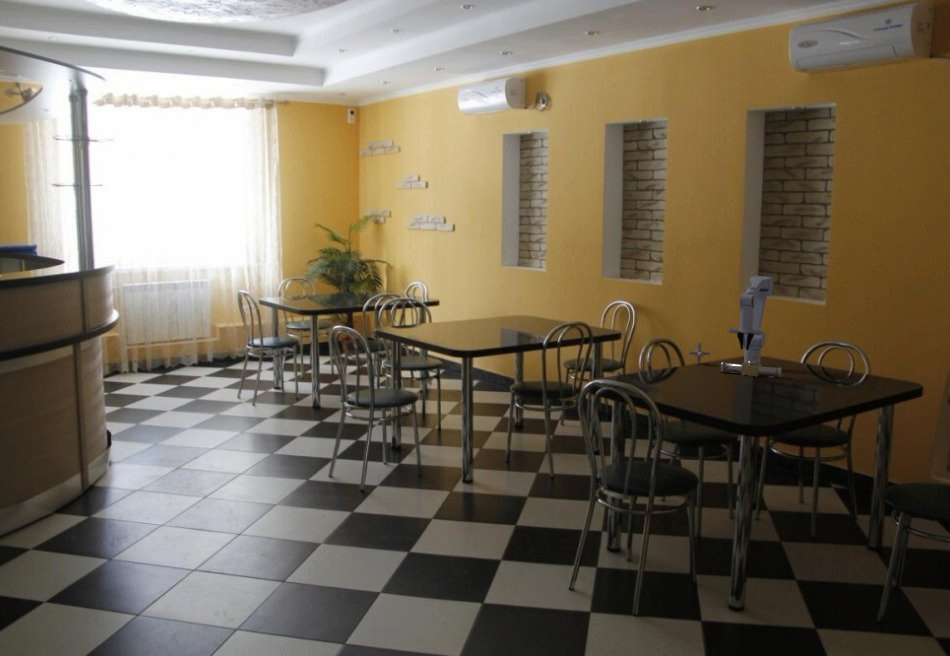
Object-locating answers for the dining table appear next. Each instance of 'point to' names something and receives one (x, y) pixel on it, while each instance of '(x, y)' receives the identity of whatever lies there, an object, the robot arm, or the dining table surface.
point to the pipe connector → (699, 353)
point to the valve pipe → (751, 369)
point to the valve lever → (753, 360)
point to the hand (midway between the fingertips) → (744, 349)
